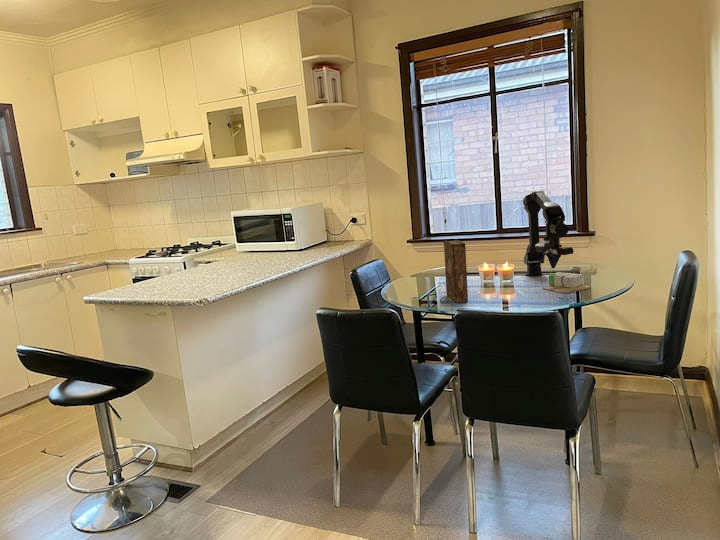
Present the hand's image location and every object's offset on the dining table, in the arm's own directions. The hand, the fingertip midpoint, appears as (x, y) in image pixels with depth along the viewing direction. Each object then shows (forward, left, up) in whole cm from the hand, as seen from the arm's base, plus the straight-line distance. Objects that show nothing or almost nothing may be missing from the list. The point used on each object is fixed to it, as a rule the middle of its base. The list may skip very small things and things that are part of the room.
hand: (553, 268), depth 242 cm
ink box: (-1, +1, -5) cm, 5 cm away
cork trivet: (+8, 0, -8) cm, 11 cm away
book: (-10, -45, -8) cm, 47 cm away
